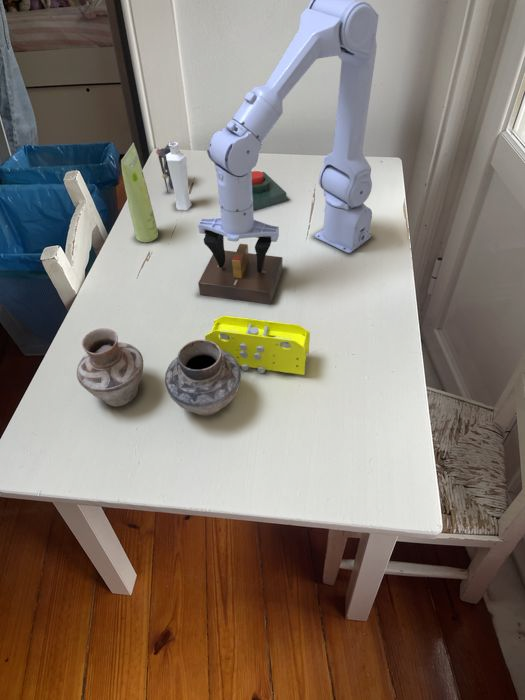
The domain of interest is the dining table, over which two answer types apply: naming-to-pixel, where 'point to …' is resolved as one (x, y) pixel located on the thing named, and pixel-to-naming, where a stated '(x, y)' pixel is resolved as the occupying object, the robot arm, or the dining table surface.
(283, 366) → the yellow toy chassis
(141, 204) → the tube
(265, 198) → the box
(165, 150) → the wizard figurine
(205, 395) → the twin painted vases
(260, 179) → the button
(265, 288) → the knob panel
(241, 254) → the wooden block
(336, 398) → the dining table surface
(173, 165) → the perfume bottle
